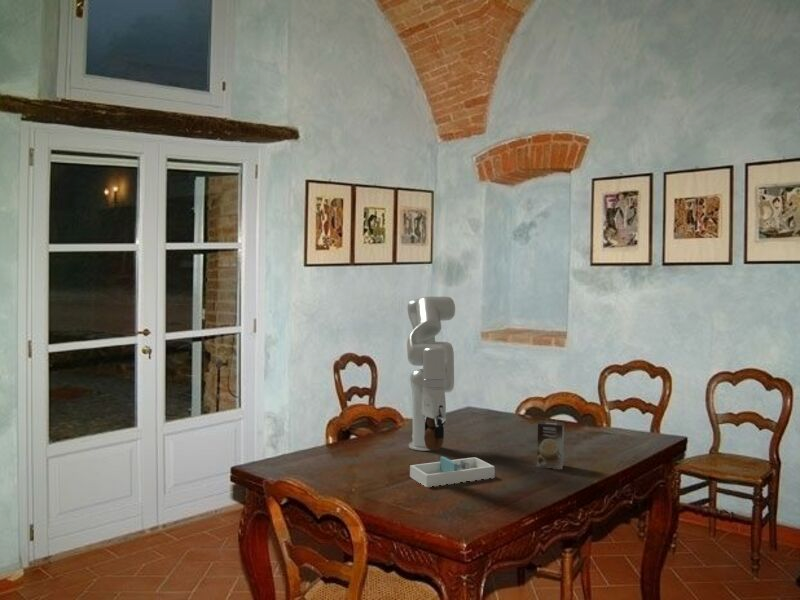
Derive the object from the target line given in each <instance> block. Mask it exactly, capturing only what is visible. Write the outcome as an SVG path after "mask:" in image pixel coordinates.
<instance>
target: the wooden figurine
mask: <svg viewBox="0 0 800 600" xmlns="http://www.w3.org/2000/svg"><path fill="white" fill-rule="evenodd" d="M437 417H439V416H437ZM439 420H440V419H438V422H439ZM427 425H428V427H429V428H427V430H426V431H425V434H424V441H425V445H426V447H427V448H428V449H429V450H430V451H437V450H440V449H441V448H442V447H443V443H444V439H445V438H444V437H445V436H444V437H443V438H438V439H435V437H434V434H435V427H436V425H435V420H434V419H431V418H429V417H428V420H427Z"/></svg>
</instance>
